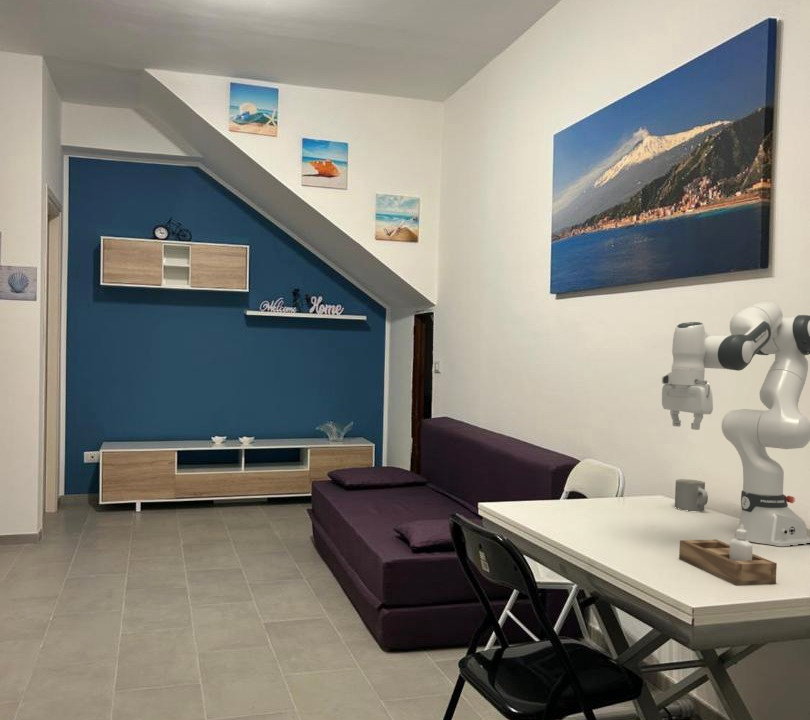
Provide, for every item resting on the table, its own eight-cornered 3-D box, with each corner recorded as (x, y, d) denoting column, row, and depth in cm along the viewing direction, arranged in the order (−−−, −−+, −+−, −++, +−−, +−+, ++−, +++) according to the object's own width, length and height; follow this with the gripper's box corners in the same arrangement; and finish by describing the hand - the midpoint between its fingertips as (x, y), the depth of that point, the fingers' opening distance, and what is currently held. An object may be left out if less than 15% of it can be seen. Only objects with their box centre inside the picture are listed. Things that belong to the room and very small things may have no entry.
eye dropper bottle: (745, 571, 197) (747, 523, 197) (753, 577, 191) (755, 527, 191) (727, 569, 197) (729, 522, 197) (734, 576, 192) (736, 526, 192)
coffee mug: (669, 506, 288) (670, 478, 288) (694, 506, 289) (695, 479, 289) (688, 513, 275) (689, 485, 275) (714, 513, 276) (715, 485, 276)
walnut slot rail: (715, 557, 213) (716, 539, 213) (775, 583, 190) (776, 563, 190) (679, 558, 211) (679, 540, 211) (735, 585, 187) (736, 564, 187)
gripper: (719, 380, 213) (717, 431, 213) (677, 378, 233) (675, 424, 233) (699, 380, 212) (697, 431, 212) (658, 377, 232) (656, 424, 232)
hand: (685, 427), depth 223 cm, fingers open, 8 cm apart
